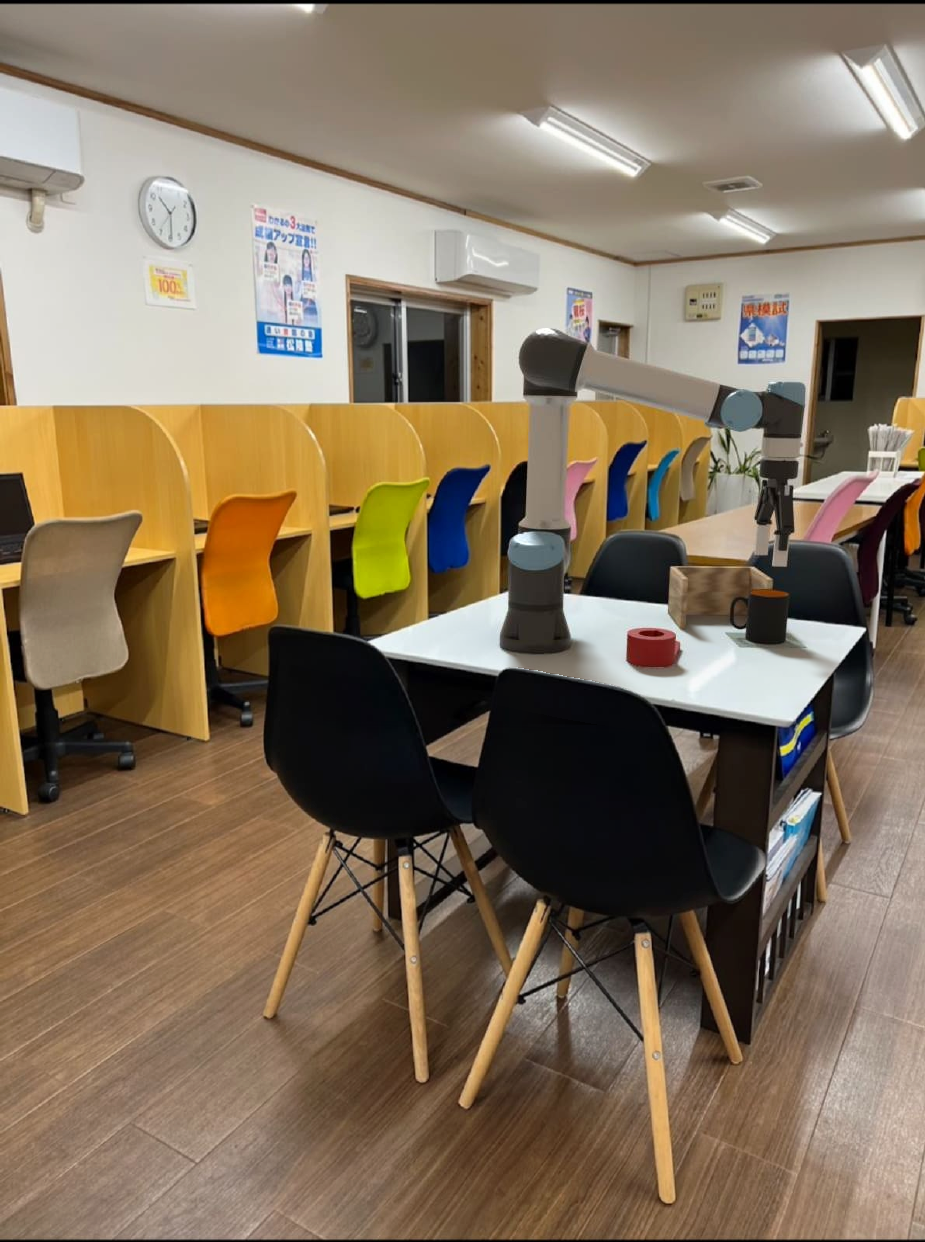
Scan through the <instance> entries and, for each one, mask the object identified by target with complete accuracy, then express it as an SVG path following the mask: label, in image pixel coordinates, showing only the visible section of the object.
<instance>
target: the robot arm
mask: <svg viewBox="0 0 925 1242" xmlns="http://www.w3.org/2000/svg"><path fill="white" fill-rule="evenodd" d="M518 365H519V369H520V371H521V374H522V375H523V384H522V385H523V388H522V390H523V393H522V398H524V400H525V401H526V402H527V403H528V405H529V416H528V417H529V419H528V440H527V441H528V444H527V446H528V447H527V448H528V449H527V469H526V470H527V471H526V472H527V473H526V477H527V478H526V496H525V497H526V502H525V517H524V518H522V520H521V521H519V523H518V528H517V529H518V532H517V534H516V535H514V536H513V537H511V538H510V540H509V542H508V549H507V558H508V568H507V569H508V571H507V572H508V575H507V576H508V578H507V579H508V580H507V581H508V585H507V586H508V587H507V589H508V591H507V592H508V595H507V599H508V600H507V601H508V602H507V612H506V615H505V617H504V621H503V622H502V623H503V624H502V627H501V630H500V632H499V646H500V647H501V648H502V649H504V650H506V651H510V652H514V653H519V654H526V653H529V654H528V655H546V654H547V653H548V654H556V653H561V652H564V651H566V650H568V649H570V648H571V647H572V646H571V645H572V643H571V642H572V635H571V632H570V631H571V630H570V628H569V625H568V621H567V618H566V613H565V611H564V595H565V591H564V590H565V588H564V587H565V574H566V573H567V572H568V570H569V568H570V565H571V562H572V557H573V556H572V555H573V551H572V548H571V535H572V533H571V532H572V524H571V523H570V522H569V521H568V520H567V518H566V516H565V514H566V494H567V493H566V491H567V474H568V472H567V471H568V453H569V451H568V450H569V449H568V448H569V433H570V432H569V430H570V410H571V408H570V407H571V406H572V404H573V403H575V401H576V400H577V399H578V394H579V393H578V392H579V391H581V390H583V389H585V390H588V391H592V392H594V393H599V394H602V395H606V396H610V397H613V398H617V399H620V400H624V401H628V402H631V403H636V404H638V405H642V406H647V407H650V408H653V409H658V410H660V411H664V412H667V413H672V414H675V415H679V416H683V417H686V418H691V419H695V420H697V421H701V422H704V425H705V426H706V428H710V429H718V430H722V429H726V430H727V429H729V430H731V431H733V432H739V433H741V432H747V431H749V430H753V429H754V430H763V434H762V440H761V451H760V456H761V457H762V458H763V459H761V461H760V463H759V472H758V474H759V477H760V478H763V479H762V481H761V489H760V493H759V498H758V501H757V506H756V509H755V514H754V517H753V518H754V521H756V532H755V542H754V543H755V544H754V551H753V552H754V553H753V554H754V555H755V556H768V554H769V546H770V545H769V543H770V535H771V525H773V521H772V517H773V515H774V519H775V526H776V530H775V529H774V533H773V535H774V543H773V553H772V555H773V556H772V562H771V566H772V567H785V568H786V567H787V566H788V555H789V547H790V536H791V535H792V534H795V531H796V530H795V512H794V511H795V510H794V489H795V488H794V484H791V485H790V484H789V483H788V481H789V480H795V479H797V478H798V475H799V464H800V462H799V461H798V460H796V459H798V458H800V453H801V451H800V450H801V448H803V446H804V443H802V434H803V426H804V417H805V407H806V393H807V392H806V390H807V389H806V385H805V383H803V382H801V381H771V382H769V383H768V384H767V387H766V389H765V390H763V391H762V390H761V391H751V390H748V389H741V388H740V389H739V388H736V387H733V386H729V385H724V384H721V383H719V382H715V381H710V380H707V379H705V378H700V377H697V376H693V375H688V374H685V373H681V372H677V371H674V370H670V369H666V368H662V367H659V366H656V365H652V364H648V363H644V362H641V361H638V360H633V359H630V358H626V357H622V356H619V355H615V354H612V353H607V352H606V351H605V352H604V351H600V350H597V349H595V347H594V346H593V344H592V343H591V342H588V341H584V340H581V339H579V338H575V337H573V336H571V335H568V334H566V333H564V332H563V331H561V330H559V329H556V328H553V327H552V328H551V327H545V328H540V329H537V330H535V331H533V332H532V333H530V334H529V335H527V337H526V338H525V339H524V341H523V342H522V344H521V346H520V348H519V353H518ZM545 653H546V654H545ZM548 654H547V655H548Z"/></svg>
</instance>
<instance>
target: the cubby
mask: <svg viewBox="0 0 925 1242" xmlns="http://www.w3.org/2000/svg"><path fill="white" fill-rule="evenodd" d="M668 582H669V583H668V585H669V586H668V600H667V601H668V603H667V606H668V607H667V614H668V616H669V617H670V618H671V620H672V621H673V622H674V624H675V625H676V627H678V629H679V630H686V626H687V625H686V623H687V615H688V616H689V615H690V616H698V615H699V616H730V607H731V603H732V601H733V600H734V599H735V598H736V597H740V596H741V597H744V598H748V595H749V591H751V590H755V589H772V590H773V586H774V585H773V584H774V580H773V578H771V577H770V576H769V575H767V574H765V573H764V572H762V571H761V570H759V569H758V568H756V567H755V566H704V565H703V566H700V565H699V566H690V565H689V566H687V565H686V566H685V565H684V566H677V565H676V566H674V565H673V566H671V565H670V566H669V580H668ZM734 616H747V607H746V604H745V603H744V602H743V601H742V600H739V601H737V602H736V604H735V606H734Z"/></svg>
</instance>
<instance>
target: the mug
mask: <svg viewBox="0 0 925 1242" xmlns="http://www.w3.org/2000/svg"><path fill="white" fill-rule="evenodd" d="M739 600H742V601H743V602H744V603H745V604H746V607H747V615H746V620H745V622H744V624H742V625H737V623H736V622H735V619H734V618H735V617H734V616H735V615H734V606H735V604H736V602H737V601H739ZM789 604H790V593H789V592H787V591H784V590H780V589H773V588H772V589H755V590H751V591H749V595H748V598H744V597H741V596H740V597H736V598H735V599H734V600H733V601H732V603H731V607H730V615H729V622H730V624H731V625H732V627H733V628H735V629H737V630H741V631H742V630H745V633H746V635H745V638H746V640H748V641H750V642H753V643H758V644H766V645H776V644H782V643H784V642H785V641H786V633H787V628H788V627H787V626H788V616H789V606H790V605H789Z"/></svg>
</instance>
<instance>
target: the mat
mask: <svg viewBox="0 0 925 1242" xmlns="http://www.w3.org/2000/svg"><path fill="white" fill-rule="evenodd" d="M725 635H727V636H728V637H729V639H731V640H732V641H733V642H734V644H736V645H737V646H738V647H739V648H776V649H777V648H779V649H780V648H781V649H782V648H785V649H788V648H793V649H799V648H800V649H807V648H808V647H807V646H806V645H805V644H803V643H802V642H801V641H800V640H799V639H797V638H796V637H795V636H794V635H793V634H791V633H790V632H786V641H785V642H784V643H782V644H776V645H766V644H758V643H753V642H750V641H748V640H746V638H745V635H746V632H737V631H736V632H735V631H732V632H725Z"/></svg>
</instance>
